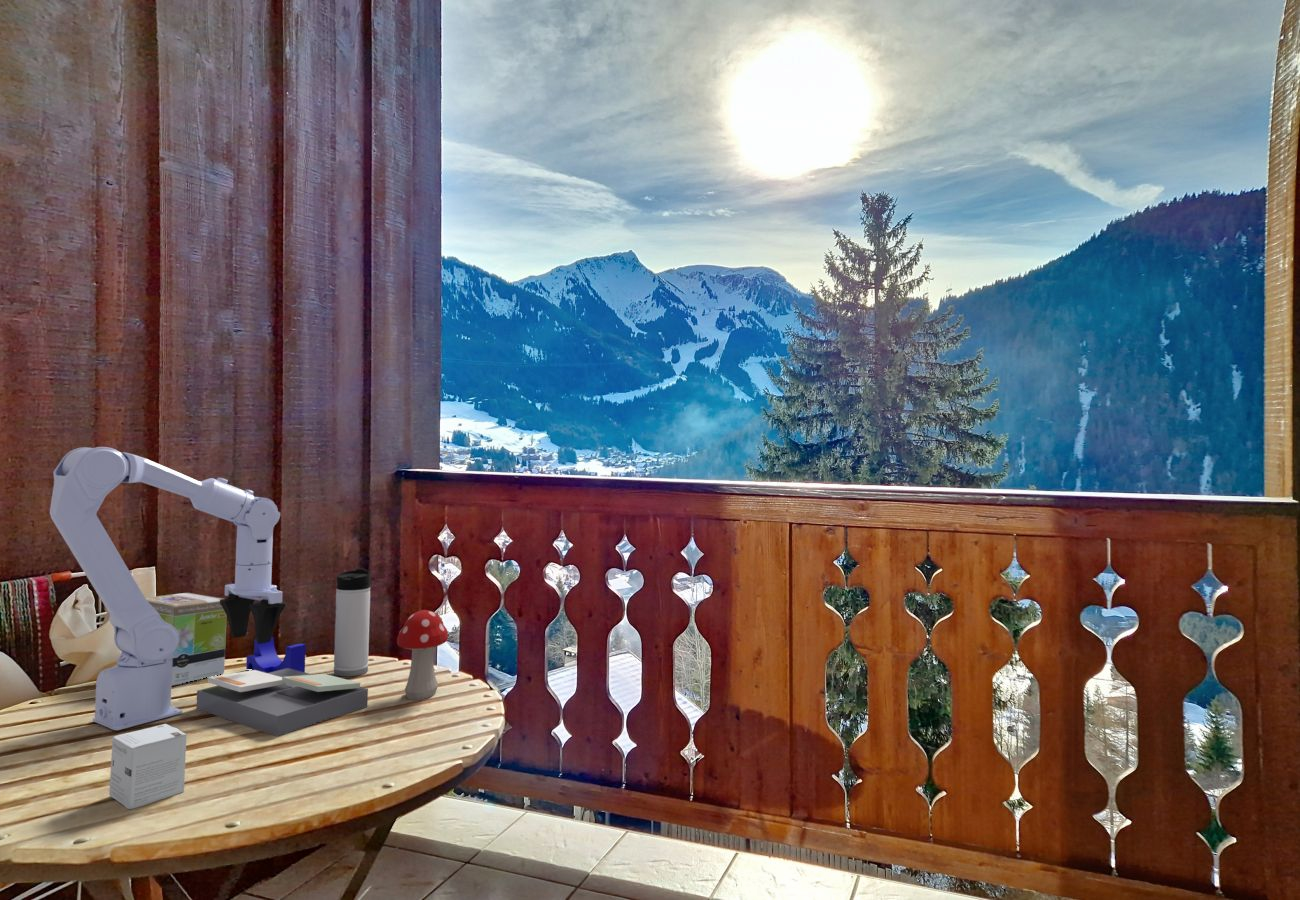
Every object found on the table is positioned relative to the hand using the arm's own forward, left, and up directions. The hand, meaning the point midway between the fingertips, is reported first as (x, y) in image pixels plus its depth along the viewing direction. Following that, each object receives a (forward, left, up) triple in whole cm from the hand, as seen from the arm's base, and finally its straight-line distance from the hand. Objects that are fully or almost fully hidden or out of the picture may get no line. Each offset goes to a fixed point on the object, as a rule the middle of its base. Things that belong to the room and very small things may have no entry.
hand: (251, 639), depth 126 cm
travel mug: (+18, -4, -10) cm, 21 cm away
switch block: (+1, -12, -9) cm, 15 cm away
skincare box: (-29, -28, -10) cm, 41 cm away
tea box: (-1, +22, -10) cm, 24 cm away
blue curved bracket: (+10, +8, -10) cm, 16 cm away
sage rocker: (+1, -18, -5) cm, 19 cm away
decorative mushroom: (+16, -26, -10) cm, 32 cm away
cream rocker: (-5, -7, -5) cm, 10 cm away
